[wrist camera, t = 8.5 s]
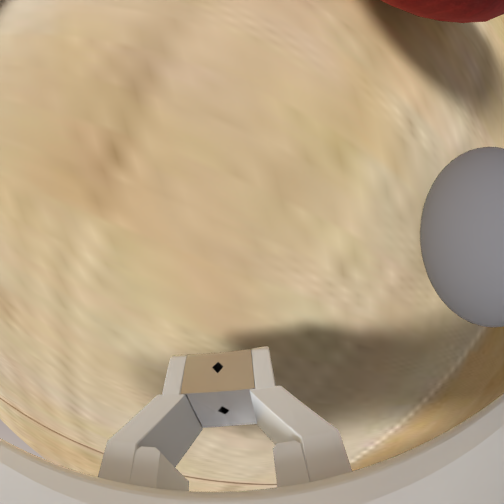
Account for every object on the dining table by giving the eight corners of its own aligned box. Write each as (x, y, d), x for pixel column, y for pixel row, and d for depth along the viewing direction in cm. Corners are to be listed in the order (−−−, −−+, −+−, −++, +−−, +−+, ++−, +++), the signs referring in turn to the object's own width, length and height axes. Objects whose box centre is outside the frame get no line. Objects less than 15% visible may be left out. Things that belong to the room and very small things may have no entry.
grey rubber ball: (608, 247, 1) (429, 375, 5) (580, 268, 3) (482, 342, 7) (469, 78, 4) (361, 204, 8) (511, 156, 6) (435, 233, 10)
